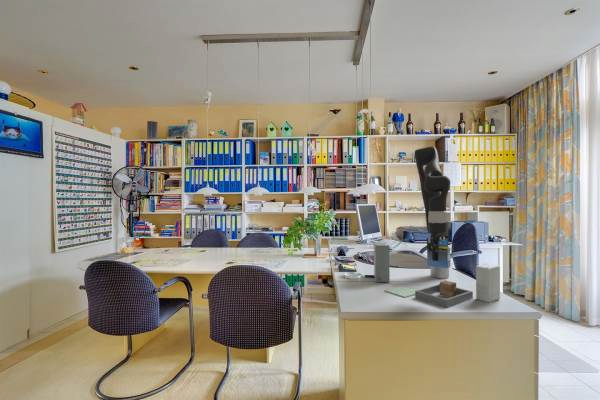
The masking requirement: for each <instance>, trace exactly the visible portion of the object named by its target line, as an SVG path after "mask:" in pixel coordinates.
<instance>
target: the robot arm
mask: <svg viewBox="0 0 600 400" xmlns="http://www.w3.org/2000/svg"><path fill="white" fill-rule="evenodd" d="M414 160H415V165H416V169H417V173H418V177H419V182H420V183H419V184H420V189H421V190H420V192H421V196H422V200H423V206H424V211H425V222H426V223H425V224H426V230H427V232H428V234H430V237H427V238H426V246H427V245H428V250H429V251H431V252H432V260H433V261H438V253H437V252H438V248H439V247H440V241H441V240H447V246H448V247H449V241H450V235H449V228H450V227H449V221H448V214H447V213H448V212H447V197H448V194H449V192H450V191H449V190H450V188H451V179H450V178H449V177H448V176H446V175H443V173H442V169H441V168H440V159H439V153H438V150H437V147H435V146H427V147H422V148H417V149H415V150H414ZM434 244H437V245H434ZM435 247H436V249H435ZM430 277H431V278H435V279H448V278H449V277H450V267H449V268H442V267H434V266H430Z"/></svg>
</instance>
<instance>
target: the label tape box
mask: <svg viewBox="0 0 600 400" xmlns="http://www.w3.org/2000/svg"><path fill="white" fill-rule="evenodd" d="M434 245H437V244H434ZM435 249H436V247H435ZM437 253H438V261H433V260H432V252H431V251H429V250H428V245H427V244H426V258H427V259H426V262H427V264H426V265H427V266H428V267H431V266H434V267H442V268H449V269H450V268H451V248H450V246H449V245H448V246H447V240H441V241H440V247H439V248H438V252H437Z"/></svg>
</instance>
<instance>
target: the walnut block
mask: <svg viewBox="0 0 600 400" xmlns="http://www.w3.org/2000/svg"><path fill="white" fill-rule="evenodd" d="M439 284H440V291H439V296H443V297H445V298H446V297H447V298H451V297H454V296H457V295H456V287H457V282H454V281H450V280H441V281H439Z"/></svg>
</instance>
